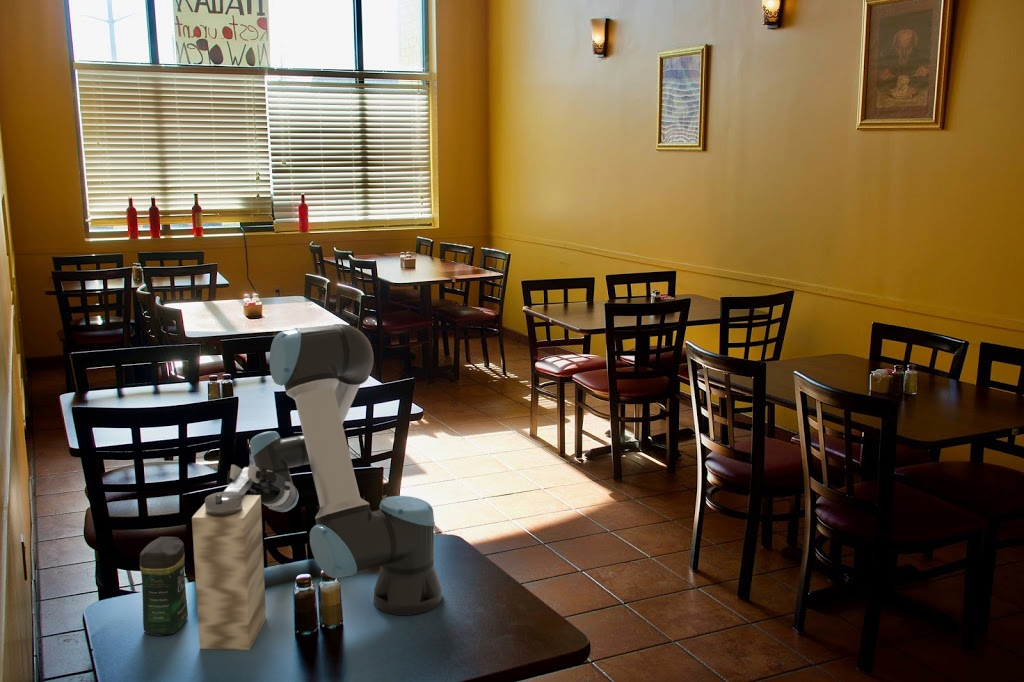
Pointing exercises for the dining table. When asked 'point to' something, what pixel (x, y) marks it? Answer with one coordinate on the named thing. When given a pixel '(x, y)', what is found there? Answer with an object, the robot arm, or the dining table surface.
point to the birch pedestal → (229, 576)
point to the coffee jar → (163, 586)
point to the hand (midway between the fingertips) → (241, 471)
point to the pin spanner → (229, 497)
